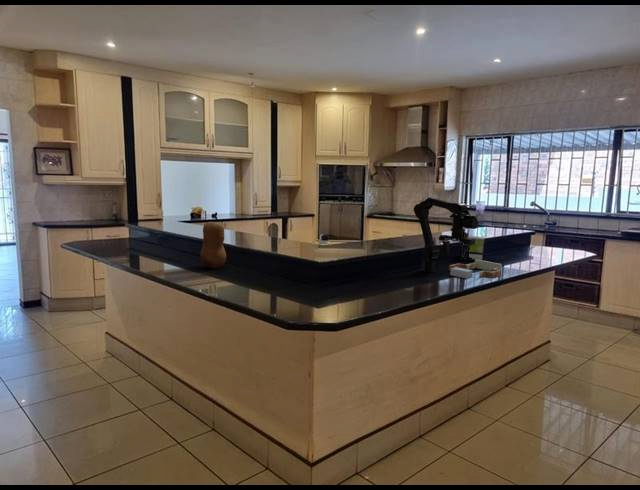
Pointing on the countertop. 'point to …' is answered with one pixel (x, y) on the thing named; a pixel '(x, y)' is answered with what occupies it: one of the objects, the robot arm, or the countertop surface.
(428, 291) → the countertop surface
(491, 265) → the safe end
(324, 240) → the container
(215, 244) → the butternut squash
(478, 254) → the tea box
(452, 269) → the block
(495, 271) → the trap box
